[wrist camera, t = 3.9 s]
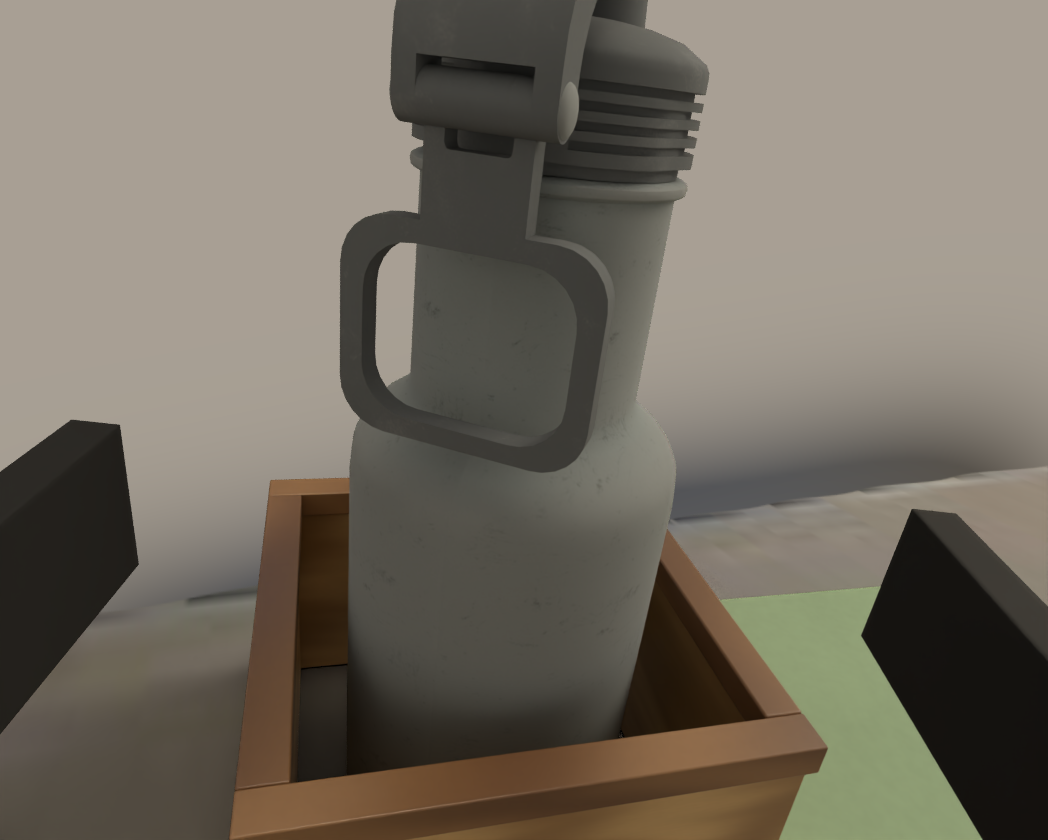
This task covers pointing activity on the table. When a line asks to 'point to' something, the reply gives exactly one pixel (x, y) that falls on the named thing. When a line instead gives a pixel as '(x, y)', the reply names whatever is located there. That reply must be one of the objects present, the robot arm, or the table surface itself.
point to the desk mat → (850, 724)
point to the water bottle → (512, 381)
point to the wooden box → (531, 776)
